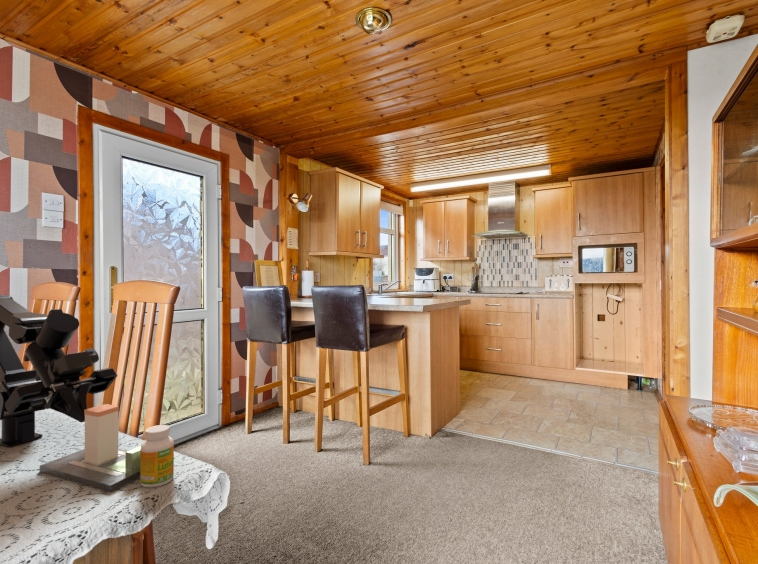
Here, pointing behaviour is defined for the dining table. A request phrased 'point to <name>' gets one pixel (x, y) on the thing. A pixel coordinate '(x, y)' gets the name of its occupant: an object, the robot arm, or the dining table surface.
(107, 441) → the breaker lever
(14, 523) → the dining table surface
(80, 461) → the plate
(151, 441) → the supplement bottle
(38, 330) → the robot arm
